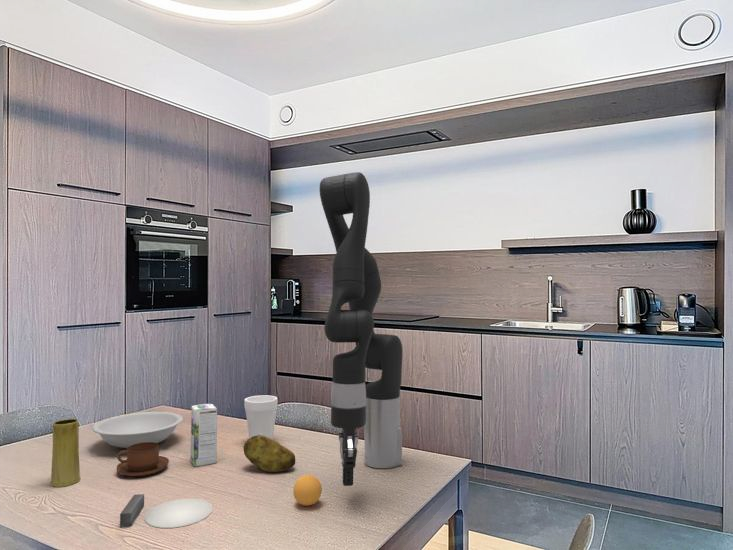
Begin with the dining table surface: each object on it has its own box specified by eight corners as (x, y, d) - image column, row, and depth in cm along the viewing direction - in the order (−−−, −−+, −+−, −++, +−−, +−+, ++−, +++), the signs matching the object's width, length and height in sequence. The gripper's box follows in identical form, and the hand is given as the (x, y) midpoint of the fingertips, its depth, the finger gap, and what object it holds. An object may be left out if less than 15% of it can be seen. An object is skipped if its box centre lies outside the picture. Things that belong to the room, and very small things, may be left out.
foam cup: (238, 443, 150) (238, 398, 150) (266, 436, 156) (266, 393, 156) (255, 451, 143) (255, 404, 143) (283, 444, 149) (283, 399, 149)
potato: (277, 479, 122) (277, 446, 122) (237, 469, 129) (237, 437, 129) (299, 468, 129) (299, 436, 129) (260, 459, 136) (260, 429, 136)
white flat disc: (216, 497, 112) (216, 496, 112) (207, 525, 99) (207, 524, 99) (154, 501, 110) (154, 500, 110) (136, 530, 97) (136, 529, 97)
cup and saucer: (115, 484, 120) (115, 457, 120) (117, 467, 131) (117, 442, 131) (169, 476, 125) (169, 450, 125) (167, 460, 136) (167, 437, 136)
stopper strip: (144, 506, 108) (144, 494, 108) (131, 526, 99) (131, 513, 99) (134, 506, 108) (134, 494, 108) (120, 527, 99) (120, 513, 99)
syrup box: (189, 460, 135) (189, 405, 136) (212, 456, 138) (212, 402, 138) (194, 467, 130) (194, 410, 131) (217, 463, 133) (217, 407, 133)
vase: (86, 479, 123) (86, 419, 123) (63, 488, 117) (64, 426, 117) (67, 476, 125) (67, 417, 125) (44, 485, 119) (44, 423, 119)
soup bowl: (200, 440, 153) (200, 418, 153) (124, 465, 132) (125, 439, 133) (150, 428, 166) (150, 407, 166) (74, 449, 145) (74, 425, 145)
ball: (321, 497, 112) (320, 469, 112) (322, 509, 106) (322, 480, 106) (293, 499, 111) (293, 471, 111) (293, 511, 105) (293, 482, 105)
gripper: (369, 409, 104) (369, 496, 104) (362, 396, 117) (361, 472, 117) (332, 410, 103) (331, 497, 103) (329, 396, 116) (328, 474, 116)
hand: (347, 484), depth 110 cm, fingers closed
